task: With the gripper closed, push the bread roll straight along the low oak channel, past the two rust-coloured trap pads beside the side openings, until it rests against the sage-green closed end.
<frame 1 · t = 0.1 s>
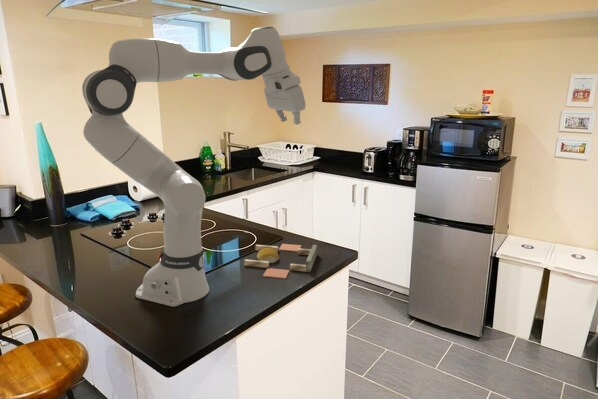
hand: (290, 122, 136), 52 cm above the worktop, tool tilted 20°, fingers open, 8 cm apart
trap pads: (281, 259, 157), on the worktop
bread roll: (268, 259, 158), on the worktop
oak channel: (281, 259, 157), on the worktop
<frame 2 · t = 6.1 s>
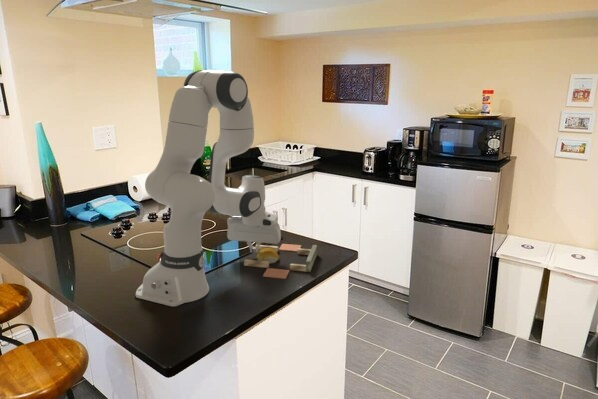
hand: (254, 252, 158), 2 cm above the worktop, tool pointing down, fingers closed
bread roll: (268, 260, 158), on the worktop, touching gripper
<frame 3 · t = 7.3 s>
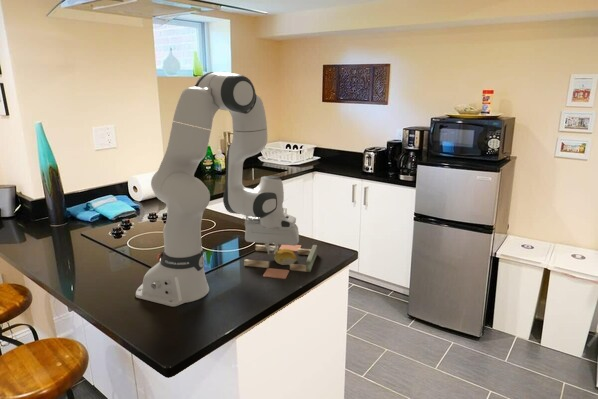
hand: (271, 253, 157), 2 cm above the worktop, tool pointing down, fingers closed
bread roll: (285, 261, 156), on the worktop, touching gripper
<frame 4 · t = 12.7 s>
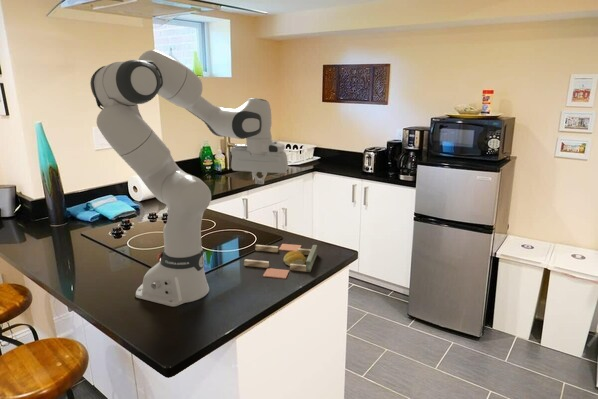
hand: (259, 183, 150), 29 cm above the worktop, tool pointing down, fingers closed
bread roll: (295, 263, 155), on the worktop
at the end: bread roll inside the target area (1.3 cm from its centre), on the worktop; bread roll touching worktop; bread roll moved 10.5 cm from its start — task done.
